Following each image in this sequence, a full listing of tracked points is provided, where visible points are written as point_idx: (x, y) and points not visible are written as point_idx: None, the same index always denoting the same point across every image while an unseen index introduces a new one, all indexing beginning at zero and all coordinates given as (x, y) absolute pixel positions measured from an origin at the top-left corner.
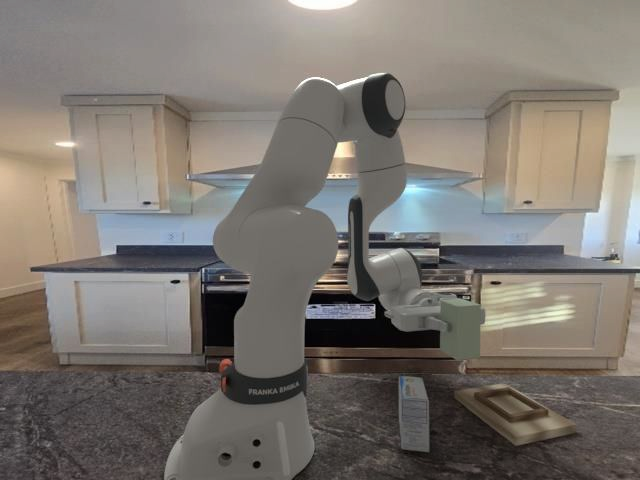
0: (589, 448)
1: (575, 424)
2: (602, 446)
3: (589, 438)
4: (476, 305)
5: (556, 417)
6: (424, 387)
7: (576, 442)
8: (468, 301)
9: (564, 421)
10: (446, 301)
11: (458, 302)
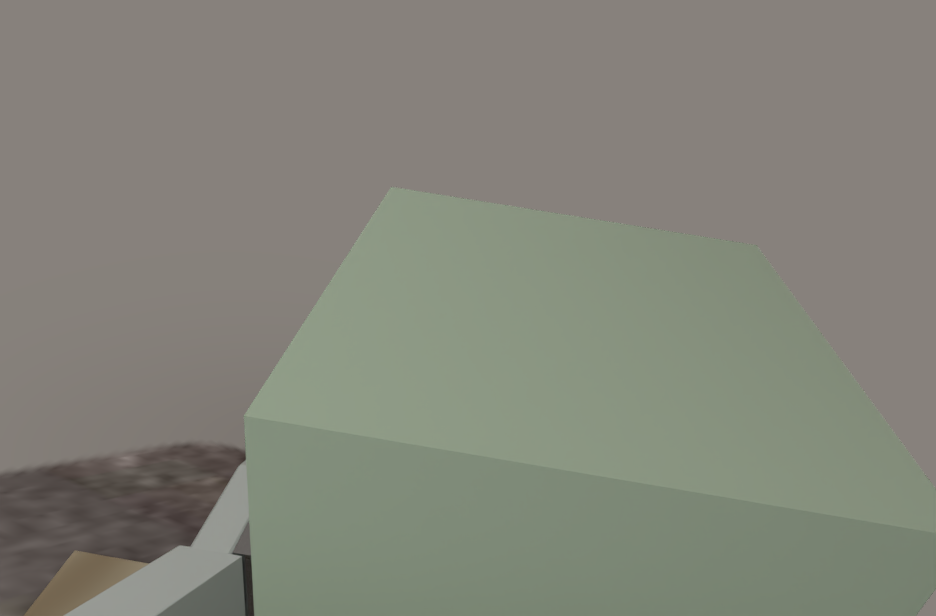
0: (168, 519)
1: (78, 551)
2: (116, 507)
3: (88, 541)
4: (459, 203)
5: (69, 609)
6: None
7: (161, 550)
8: (361, 283)
9: (83, 580)
10: (828, 422)
11: (606, 314)
